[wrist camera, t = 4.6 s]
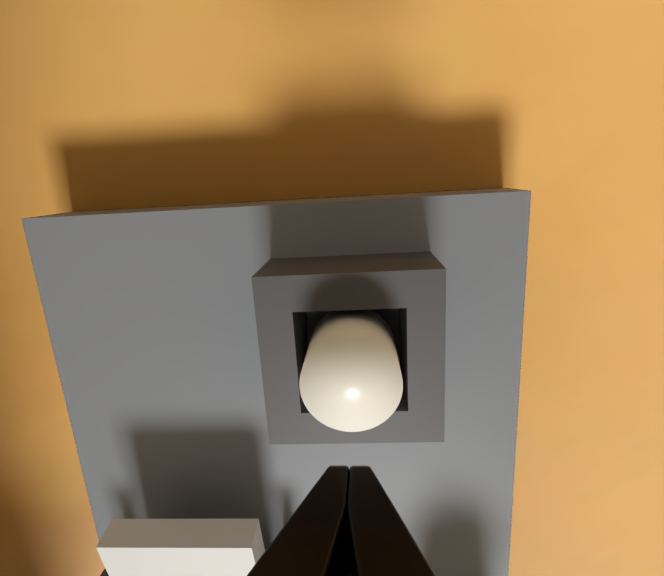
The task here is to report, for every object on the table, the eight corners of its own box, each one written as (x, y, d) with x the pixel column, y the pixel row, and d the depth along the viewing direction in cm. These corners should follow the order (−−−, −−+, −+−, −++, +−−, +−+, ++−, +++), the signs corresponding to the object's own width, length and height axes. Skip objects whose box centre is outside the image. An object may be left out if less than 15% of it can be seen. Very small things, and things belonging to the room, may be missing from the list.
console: (487, 625, 24) (529, 768, 18) (157, 620, 25) (98, 751, 20) (508, 187, 18) (578, 194, 12) (71, 212, 19) (-51, 228, 14)
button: (395, 383, 16) (403, 431, 13) (313, 385, 16) (303, 432, 13) (393, 304, 15) (402, 336, 12) (307, 307, 15) (295, 339, 12)
